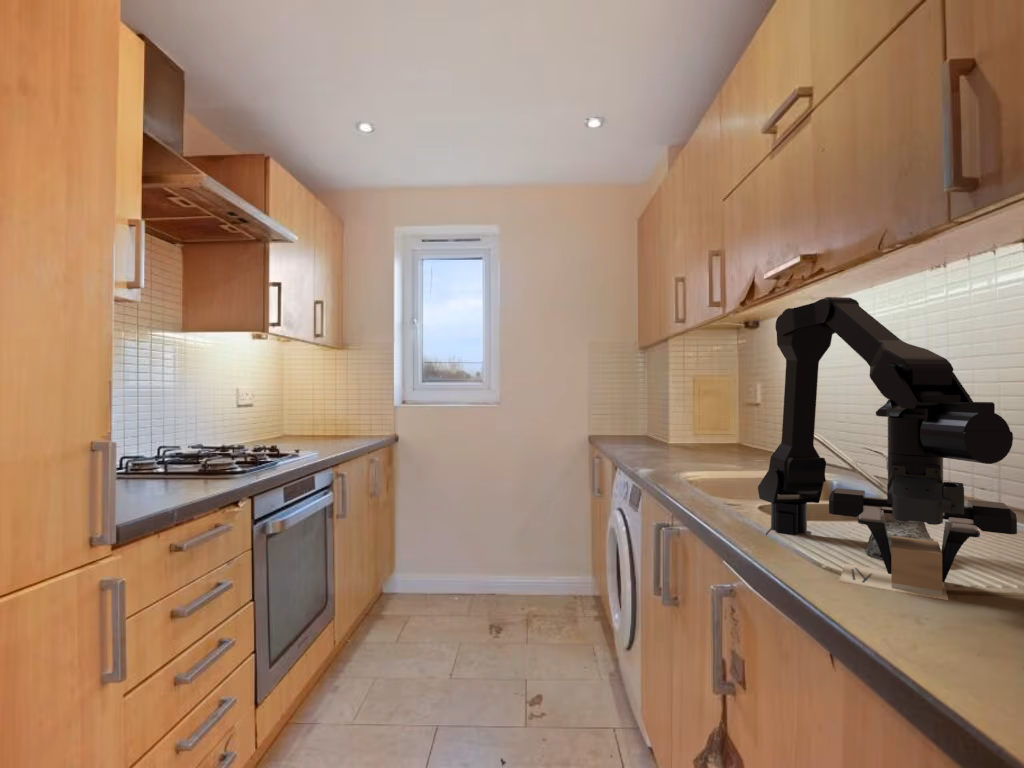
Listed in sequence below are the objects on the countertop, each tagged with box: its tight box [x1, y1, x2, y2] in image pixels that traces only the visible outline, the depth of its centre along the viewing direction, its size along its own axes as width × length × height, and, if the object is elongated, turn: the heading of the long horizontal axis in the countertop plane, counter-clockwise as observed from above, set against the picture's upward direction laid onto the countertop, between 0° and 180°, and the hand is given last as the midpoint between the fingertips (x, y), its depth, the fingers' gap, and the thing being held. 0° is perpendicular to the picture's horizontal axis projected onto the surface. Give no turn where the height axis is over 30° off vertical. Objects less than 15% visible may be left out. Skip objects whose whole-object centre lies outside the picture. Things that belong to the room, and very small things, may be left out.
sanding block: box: [891, 536, 942, 596], centre depth 71 cm, size 7×5×5 cm
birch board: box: [839, 563, 949, 601], centre depth 72 cm, size 9×11×1 cm
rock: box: [864, 513, 935, 562], centre depth 84 cm, size 13×9×6 cm, turn 156°
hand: (915, 577), depth 71 cm, fingers closed on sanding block, 5 cm apart
